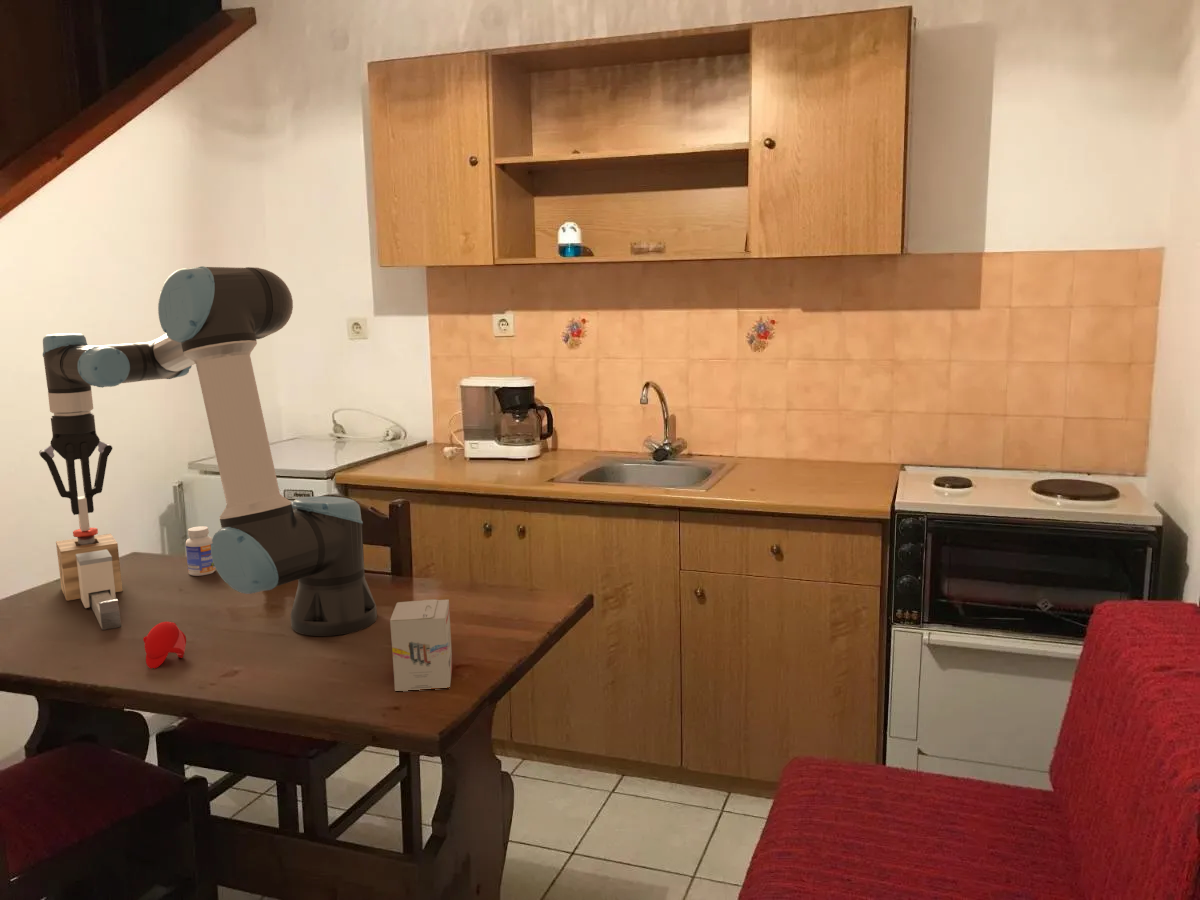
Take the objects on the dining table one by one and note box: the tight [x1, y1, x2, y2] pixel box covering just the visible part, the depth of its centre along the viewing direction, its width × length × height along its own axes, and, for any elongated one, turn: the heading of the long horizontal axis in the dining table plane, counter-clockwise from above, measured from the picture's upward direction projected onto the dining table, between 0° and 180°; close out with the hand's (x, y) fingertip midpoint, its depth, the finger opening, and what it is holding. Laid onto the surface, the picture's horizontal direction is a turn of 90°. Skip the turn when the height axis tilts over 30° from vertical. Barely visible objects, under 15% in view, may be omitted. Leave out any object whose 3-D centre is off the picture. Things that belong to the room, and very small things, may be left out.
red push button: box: [72, 527, 99, 546], centre depth 194 cm, size 4×4×5 cm
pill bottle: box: [185, 525, 216, 577], centre depth 206 cm, size 5×5×10 cm
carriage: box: [76, 549, 117, 609], centre depth 187 cm, size 6×6×9 cm
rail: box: [88, 590, 122, 631], centre depth 183 cm, size 22×3×5 cm, turn 34°
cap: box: [142, 621, 187, 669], centre depth 159 cm, size 8×6×6 cm
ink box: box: [389, 598, 453, 692], centre depth 150 cm, size 9×9×12 cm
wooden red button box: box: [55, 533, 123, 601], centre depth 195 cm, size 9×10×10 cm
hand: (84, 529), depth 193 cm, fingers closed
